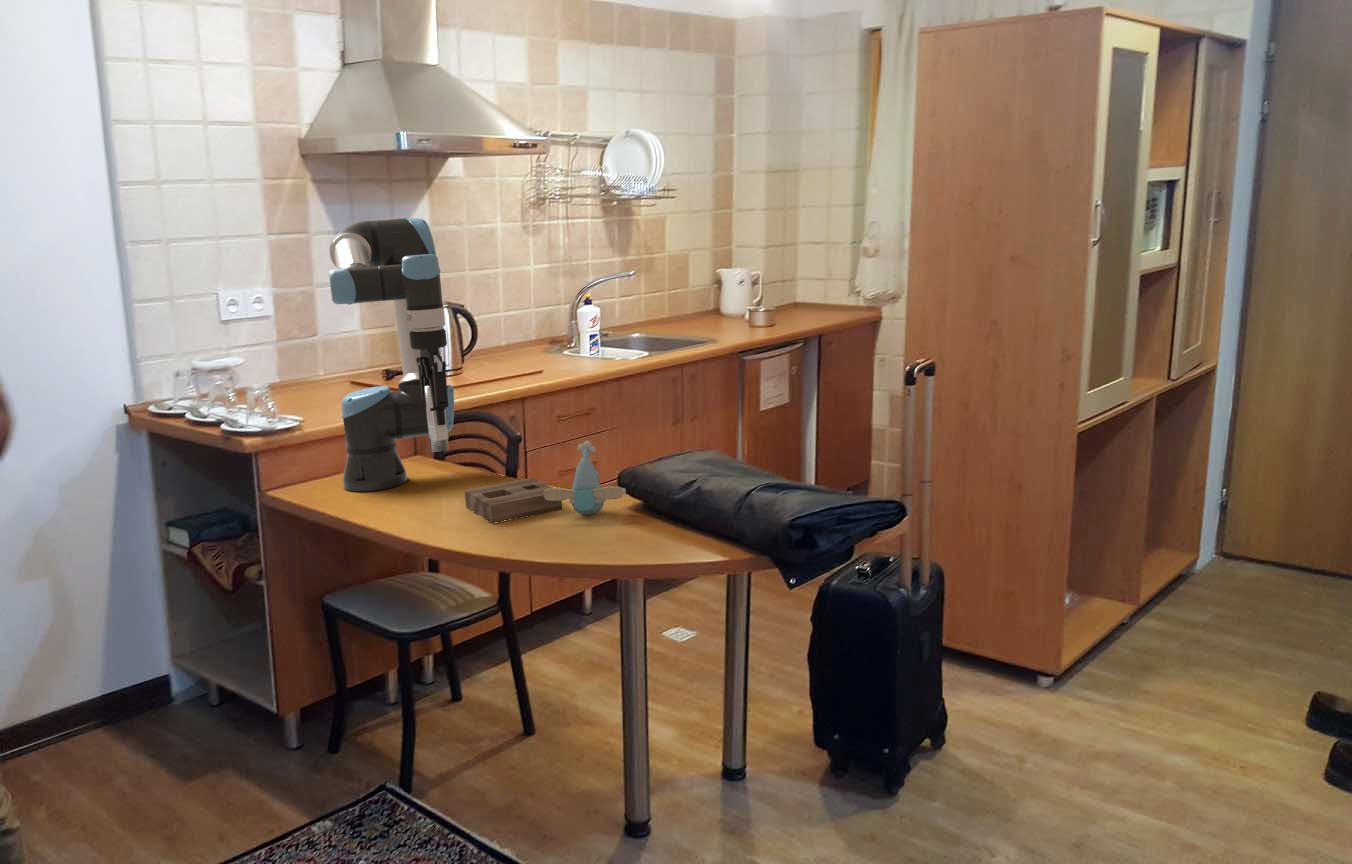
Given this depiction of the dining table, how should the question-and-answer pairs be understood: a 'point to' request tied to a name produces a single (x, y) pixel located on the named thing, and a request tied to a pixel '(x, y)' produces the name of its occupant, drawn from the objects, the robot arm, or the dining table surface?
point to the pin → (435, 445)
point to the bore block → (510, 500)
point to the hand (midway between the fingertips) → (438, 437)
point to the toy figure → (585, 486)
